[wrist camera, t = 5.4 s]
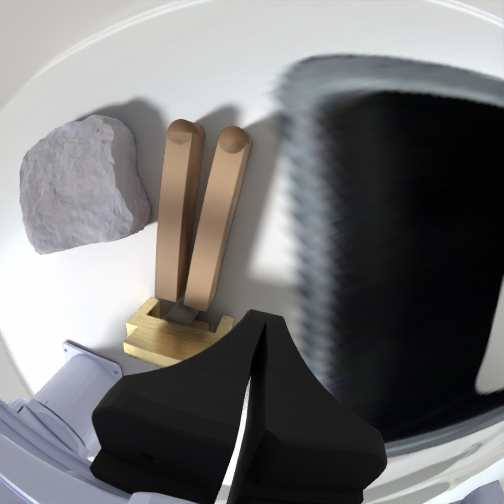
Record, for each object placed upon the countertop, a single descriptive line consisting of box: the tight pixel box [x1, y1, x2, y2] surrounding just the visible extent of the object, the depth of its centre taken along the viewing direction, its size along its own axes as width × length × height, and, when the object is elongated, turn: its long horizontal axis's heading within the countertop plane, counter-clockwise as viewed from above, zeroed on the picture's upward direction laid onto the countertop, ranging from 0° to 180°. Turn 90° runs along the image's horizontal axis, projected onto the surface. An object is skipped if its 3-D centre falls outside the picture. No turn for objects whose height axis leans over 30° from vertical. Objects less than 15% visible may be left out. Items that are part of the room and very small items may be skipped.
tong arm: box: [184, 126, 252, 312], centre depth 18 cm, size 12×2×2 cm, turn 165°
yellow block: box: [123, 298, 234, 367], centre depth 19 cm, size 3×7×6 cm, turn 81°
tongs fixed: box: [155, 119, 210, 368], centre depth 19 cm, size 18×4×2 cm, turn 171°
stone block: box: [19, 114, 151, 255], centre depth 19 cm, size 12×5×10 cm
